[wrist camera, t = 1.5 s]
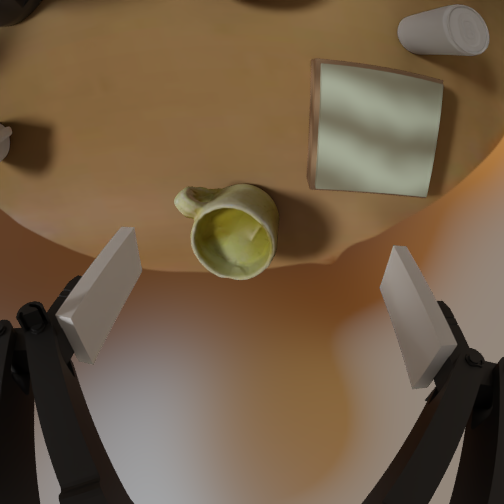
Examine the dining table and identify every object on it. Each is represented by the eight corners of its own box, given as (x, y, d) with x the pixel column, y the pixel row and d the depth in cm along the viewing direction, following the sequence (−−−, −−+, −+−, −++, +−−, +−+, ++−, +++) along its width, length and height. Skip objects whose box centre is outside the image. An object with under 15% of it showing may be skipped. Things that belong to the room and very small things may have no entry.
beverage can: (401, 56, 27) (454, 57, 17) (390, 18, 24) (439, 2, 14) (435, 53, 26) (495, 56, 16) (425, 16, 23) (482, 5, 13)
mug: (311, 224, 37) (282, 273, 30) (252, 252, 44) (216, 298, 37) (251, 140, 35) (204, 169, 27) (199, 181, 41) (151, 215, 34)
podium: (311, 59, 28) (317, 58, 24) (427, 77, 28) (447, 81, 23) (306, 176, 36) (310, 192, 32) (413, 185, 35) (429, 201, 31)
